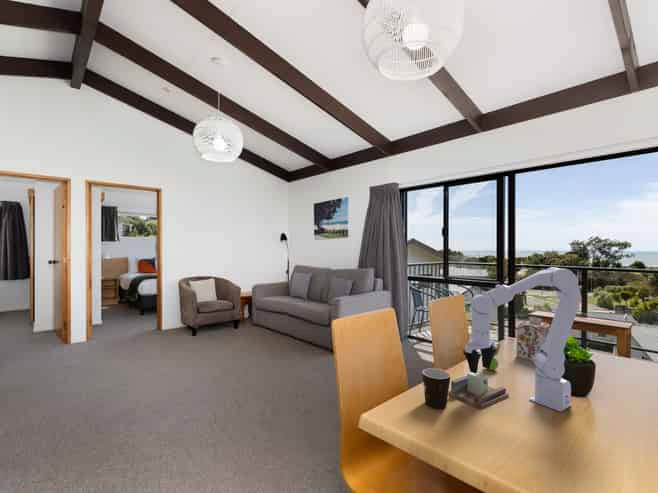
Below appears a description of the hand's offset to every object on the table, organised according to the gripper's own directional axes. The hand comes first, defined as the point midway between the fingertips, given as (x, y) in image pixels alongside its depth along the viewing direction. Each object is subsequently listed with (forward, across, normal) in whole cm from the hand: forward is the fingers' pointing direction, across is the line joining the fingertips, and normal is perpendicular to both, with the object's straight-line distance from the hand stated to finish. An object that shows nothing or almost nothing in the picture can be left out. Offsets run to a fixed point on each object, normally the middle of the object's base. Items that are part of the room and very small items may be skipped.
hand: (479, 370), depth 117 cm
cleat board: (+8, +1, 0) cm, 8 cm away
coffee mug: (+8, +20, -3) cm, 22 cm away
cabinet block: (+7, +1, 0) cm, 7 cm away
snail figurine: (+9, -26, -10) cm, 29 cm away
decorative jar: (+9, -57, -8) cm, 58 cm away
